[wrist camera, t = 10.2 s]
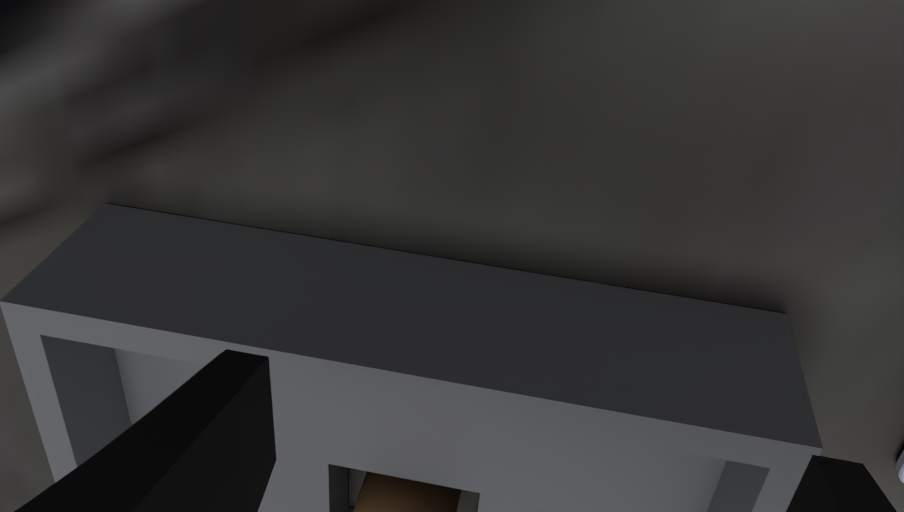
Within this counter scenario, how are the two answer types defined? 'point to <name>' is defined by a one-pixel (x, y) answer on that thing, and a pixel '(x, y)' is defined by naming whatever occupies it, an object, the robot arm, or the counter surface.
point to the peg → (404, 495)
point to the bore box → (417, 369)
